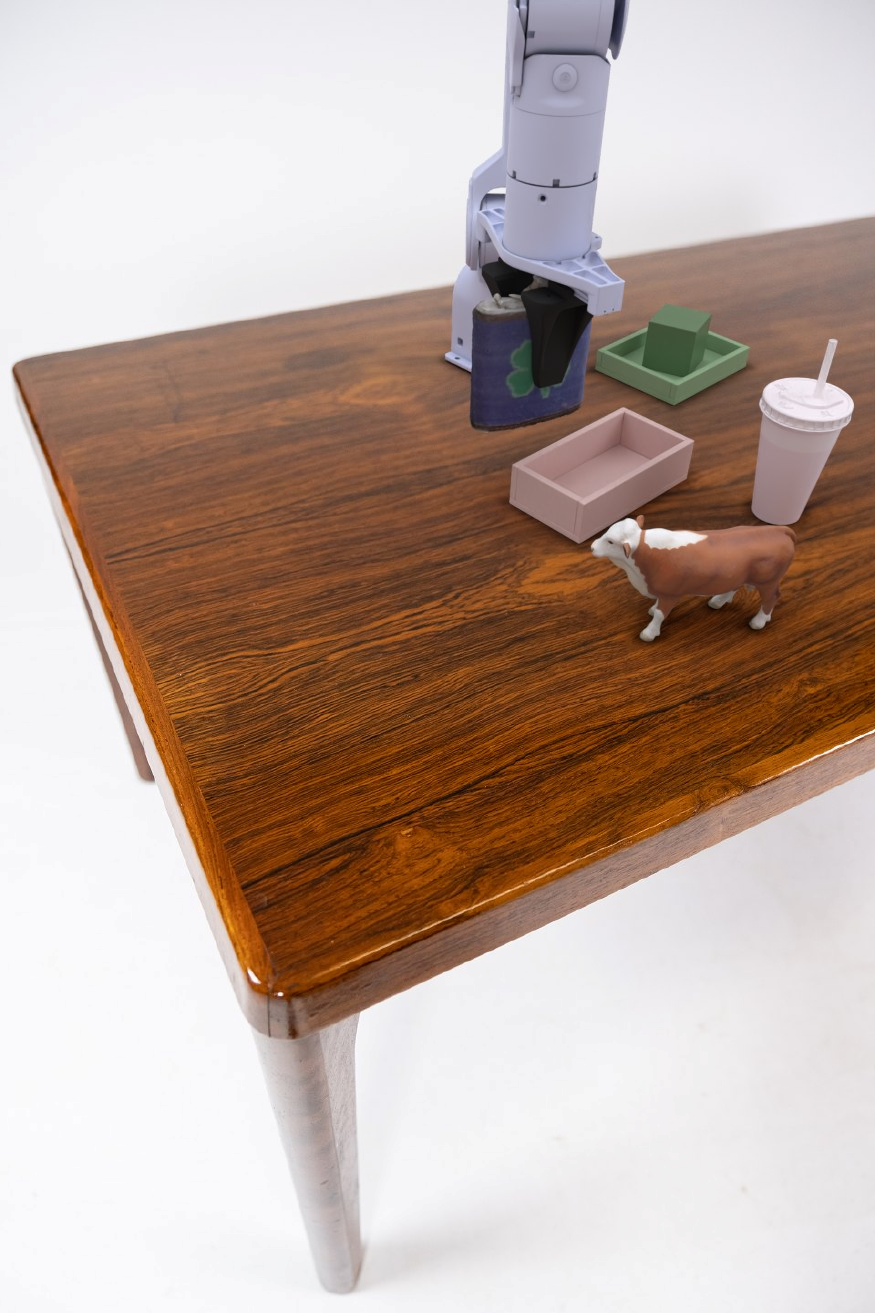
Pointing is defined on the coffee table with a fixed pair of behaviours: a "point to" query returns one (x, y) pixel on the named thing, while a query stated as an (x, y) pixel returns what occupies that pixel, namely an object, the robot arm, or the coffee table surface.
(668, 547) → the bull figurine
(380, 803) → the coffee table surface
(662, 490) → the pink tray
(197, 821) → the coffee table surface
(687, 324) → the green block
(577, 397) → the flask
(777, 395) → the smoothie
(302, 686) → the coffee table surface
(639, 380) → the green tray
